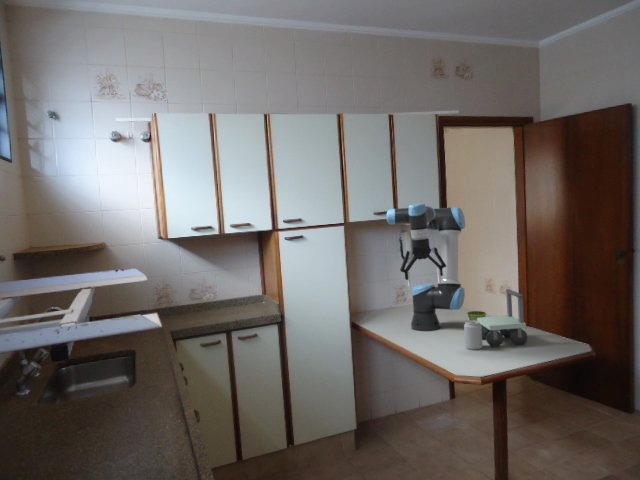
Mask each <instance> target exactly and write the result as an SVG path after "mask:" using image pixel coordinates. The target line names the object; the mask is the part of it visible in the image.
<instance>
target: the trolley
mask: <svg viewBox="0 0 640 480" xmlns="http://www.w3.org/2000/svg"><path fill="white" fill-rule="evenodd" d="M505 293H506V308H507V315H498V316H497V315H496V316H495V315H493V316H485V317H481V318H477V321H479V322H480V324H481V328H482V340H486V342H487V343H486V344H488V345H489V346H491V347H493V348H498V347H499V346H501V345H502V344H503V341H504V338H506V339H507V338H508V339H510V341H511V342H512V344H513V343H514V344H515V345H517V346H522V345H524V344H525V343H526V342H527V341H528V333H527V331H526V330H523V329H524V328H525V329H526V325H527V323H526V322H525V318H524V316H525V314H524V298H523V297H524V295H523V294H522V293H520V292H518V291H515V290H513V289H509V288H507V289H506V290H505ZM512 296H514V297H516V298H517V310H518V315H517V316H518V318H517V317H515V316H513V301H512ZM498 330H499V331H498Z"/></svg>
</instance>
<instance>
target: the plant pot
mask: <svg viewBox="0 0 640 480" xmlns="http://www.w3.org/2000/svg"><path fill="white" fill-rule="evenodd" d="M466 315H467V316H468V319H469V320H468V321H477V318H481V317H487V316H486V315H487V312H486V311H481V310H471V311H468V312H466Z"/></svg>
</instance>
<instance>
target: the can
mask: <svg viewBox="0 0 640 480" xmlns="http://www.w3.org/2000/svg"><path fill="white" fill-rule="evenodd" d="M464 322H465V324H463V330H464V347H465V348H466V349H467V348H468V350H470V349H471V350H470V351H477V350H481V349H482V348H483V339H482V328H481V324H480V322H479V321H470V320H467V321H464Z"/></svg>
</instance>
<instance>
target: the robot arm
mask: <svg viewBox="0 0 640 480" xmlns="http://www.w3.org/2000/svg"><path fill="white" fill-rule="evenodd" d="M465 220H466V219H465V215H464V212H463V209H462V208H460V207H457V206H456V207H455V206H454V207H452V206H450V207H440V208H433V207H432V206H430V205H426V204H425V203H416V204H415V203H414V204H410V205H409V206H408V207H404V208H402V207H401V208H392V209H388V210H387V212H386V222H387V223H388V225H392V226H393V225H394V226H395V225H396V226H397V225H403V226H410V227H409V228H410V237H411V247H412V248H411V249H412V250H408V249H407V250H405V256H404V259H403V261H402V264H401V267H400V272H401V273H404V278H405V279H404V280H406V281H407V286H408V287H409V288H411V287H412V284H411V274H410V272H409V271H410V269H412V267H413V265H414V264H415V262H416V261H417V260H426V259H429V260H430V261H431V262H432V263H433V264H434V265H435V266H437V268H436V273H437V286H435V284H434V283H423V284H418V285H415V286H413V288H412V290H411V291H412V292H411V293H412V294H411V295H412V297H411V298H412V307H413V310H412V311H413V314H412V318H411V322H410V328H411V329H413V330H415V331H421V332H422V331H424V332H425V331H427V332H428V331H429V332H430V331H435V330H438V329H440V327H441V325H440V320H439V317H438V315H437V313H436V310H437V309H438V310H448V311H449V310H451V311H452V310H453V311H455V310H460V309H461V308H462V307H463V306H464V301H465V293H466V292H465V288H464V287H462V283H461V282H459V236H460V234H461V233H462V230H464V229H465V227H466V221H465ZM429 230H432V231H438V234H440V236H441V245H440V246H441V247H440V248H441V252H440V253H441V254H440V253H439V251H438V248H437V247H435V246H434V247H432V248H431V247H430V239H429V238H428V237H429ZM431 253H433V254H434V255H435V257H436V258H437V259H438V260H437V261H436V259H434V258H433V257H432V256H431V255H430V254H431ZM411 255H412V258H411V260H410V261H409V258H410V256H411ZM408 261H409V263H408ZM438 261H439V262H438ZM406 265H407V266H406Z"/></svg>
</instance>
